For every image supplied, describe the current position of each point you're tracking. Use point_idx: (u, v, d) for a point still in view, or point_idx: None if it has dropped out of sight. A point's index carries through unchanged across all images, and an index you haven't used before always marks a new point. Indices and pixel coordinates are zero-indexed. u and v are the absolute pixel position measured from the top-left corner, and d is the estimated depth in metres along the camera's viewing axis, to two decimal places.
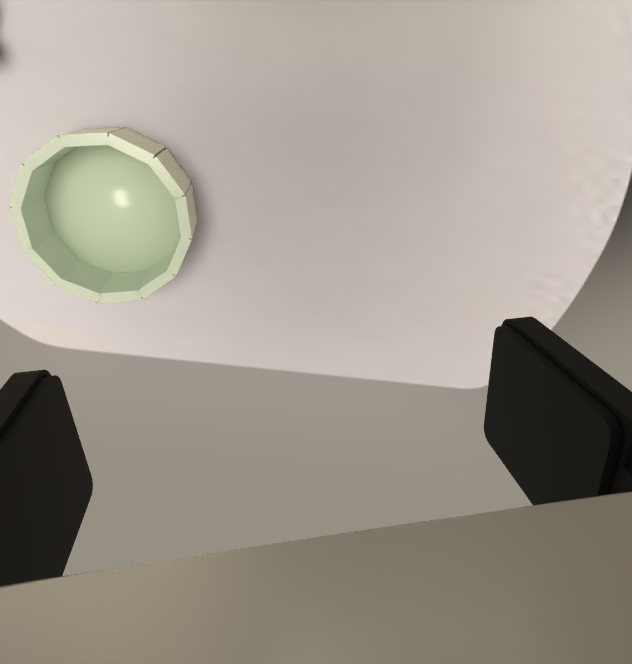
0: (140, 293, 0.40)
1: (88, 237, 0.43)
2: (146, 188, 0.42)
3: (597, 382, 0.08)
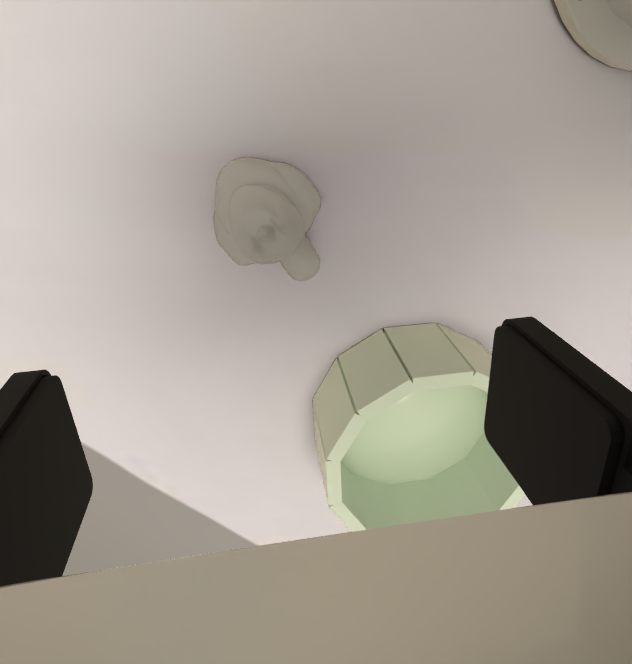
0: None
1: (368, 449, 0.34)
2: (450, 393, 0.33)
3: (597, 382, 0.08)
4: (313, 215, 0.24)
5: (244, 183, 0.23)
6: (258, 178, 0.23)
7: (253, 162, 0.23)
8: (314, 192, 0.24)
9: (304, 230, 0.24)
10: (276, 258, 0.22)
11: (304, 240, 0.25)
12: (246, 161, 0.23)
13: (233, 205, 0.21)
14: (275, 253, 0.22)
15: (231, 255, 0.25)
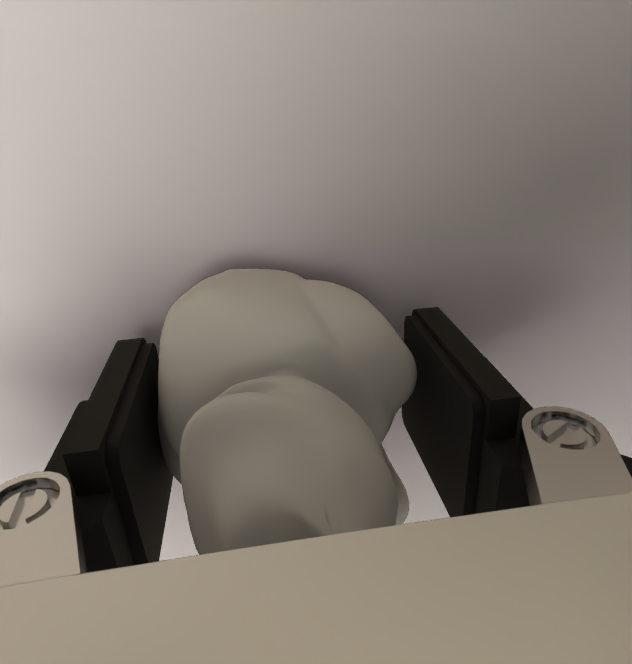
0: None
1: None
2: None
3: (472, 365, 0.09)
4: None
5: (229, 356, 0.09)
6: (266, 345, 0.08)
7: (253, 294, 0.09)
8: (404, 358, 0.10)
9: (378, 446, 0.10)
10: None
11: None
12: (234, 291, 0.09)
13: (194, 456, 0.07)
14: None
15: None
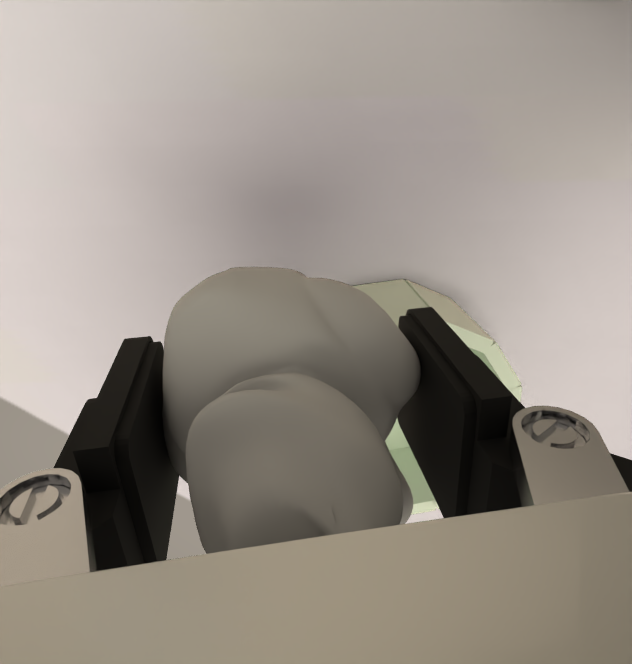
0: (436, 503, 0.30)
1: None
2: None
3: (464, 365, 0.09)
4: (403, 405, 0.10)
5: (234, 354, 0.09)
6: (271, 342, 0.08)
7: (257, 292, 0.09)
8: (408, 355, 0.10)
9: None
10: None
11: None
12: (239, 289, 0.09)
13: (200, 454, 0.07)
14: None
15: None
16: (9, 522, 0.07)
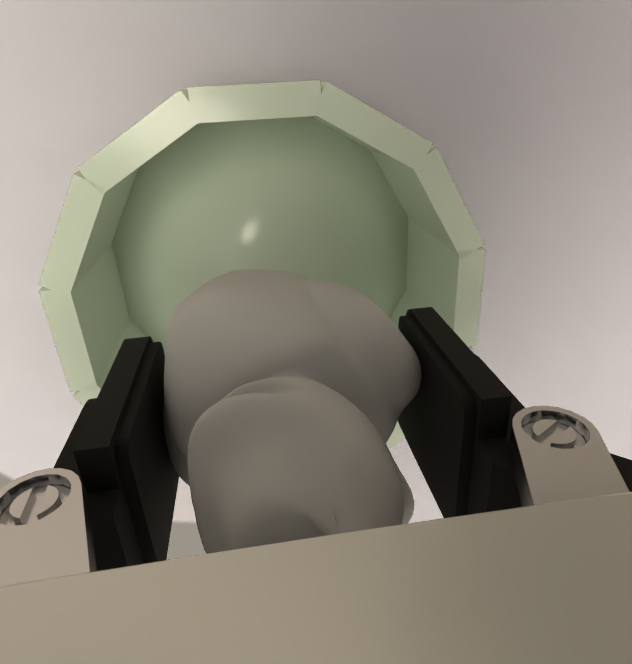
0: None
1: None
2: (333, 221, 0.19)
3: (464, 364, 0.09)
4: (404, 407, 0.10)
5: (234, 357, 0.09)
6: (272, 345, 0.08)
7: (258, 294, 0.09)
8: (409, 358, 0.10)
9: None
10: None
11: None
12: (240, 292, 0.09)
13: (202, 457, 0.07)
14: None
15: None
16: (9, 522, 0.07)
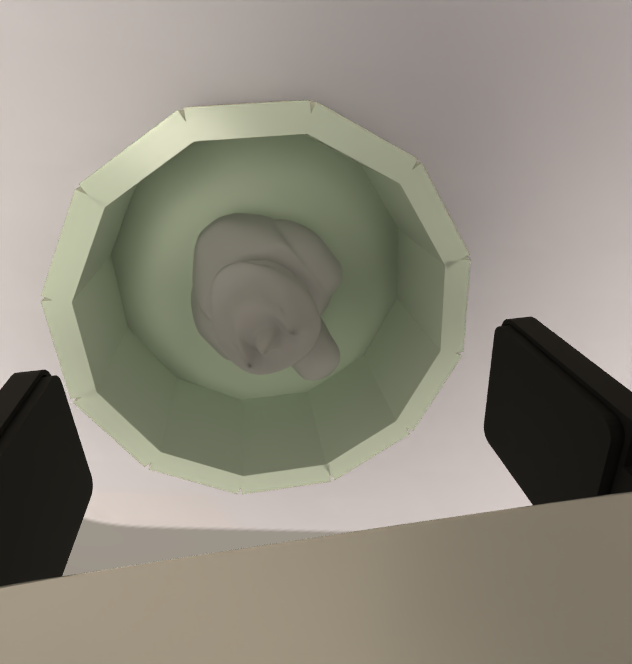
0: (330, 470, 0.18)
1: (197, 334, 0.21)
2: (325, 232, 0.20)
3: (597, 382, 0.08)
4: (331, 293, 0.17)
5: (233, 254, 0.16)
6: (254, 247, 0.16)
7: (246, 222, 0.16)
8: (333, 262, 0.17)
9: (319, 315, 0.17)
10: (282, 368, 0.15)
11: None
12: (236, 221, 0.16)
13: (217, 293, 0.14)
14: (281, 363, 0.14)
15: (216, 349, 0.18)
16: None
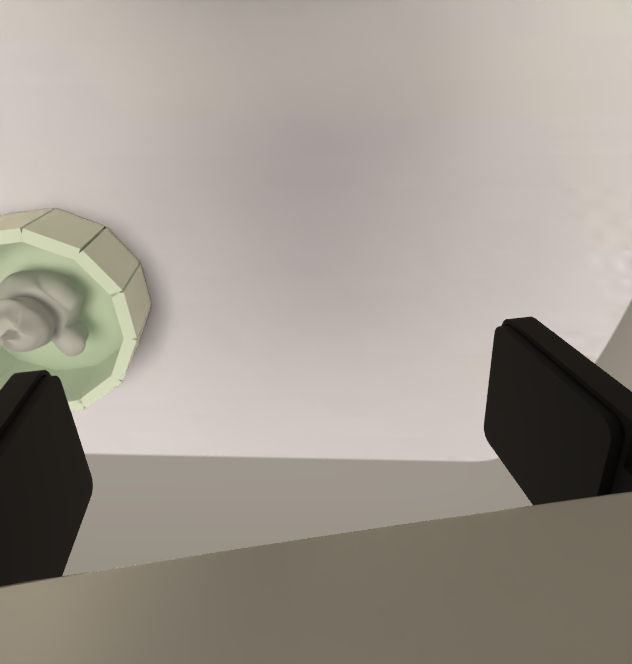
0: (82, 403, 0.34)
1: None
2: (85, 275, 0.36)
3: (597, 382, 0.08)
4: (73, 310, 0.33)
5: (11, 293, 0.32)
6: (21, 290, 0.32)
7: (20, 277, 0.32)
8: (70, 294, 0.33)
9: (66, 321, 0.33)
10: (29, 348, 0.31)
11: (70, 327, 0.34)
12: (15, 276, 0.32)
13: None
14: (25, 346, 0.31)
15: None
16: None
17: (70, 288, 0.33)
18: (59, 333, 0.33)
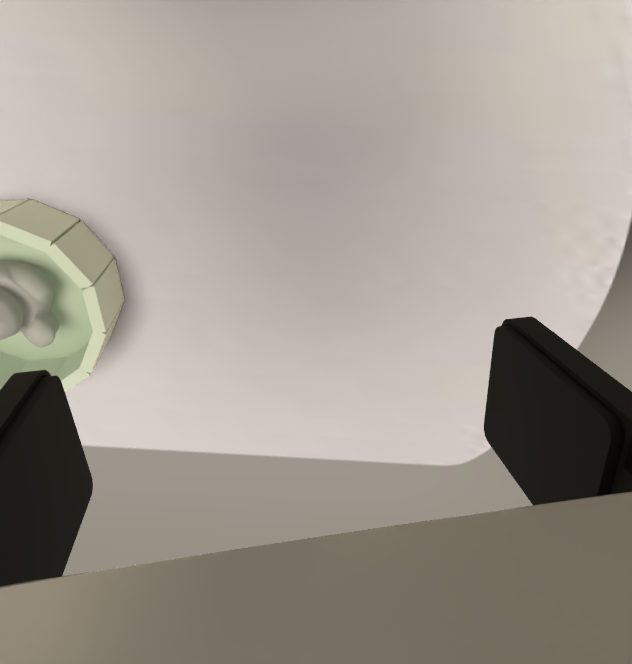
0: None
1: None
2: (58, 267, 0.36)
3: (597, 382, 0.08)
4: (43, 301, 0.34)
5: None
6: None
7: None
8: (41, 285, 0.33)
9: (36, 312, 0.34)
10: None
11: (40, 318, 0.34)
12: None
13: None
14: None
15: None
16: None
17: (41, 279, 0.33)
18: (29, 323, 0.34)
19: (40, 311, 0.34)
